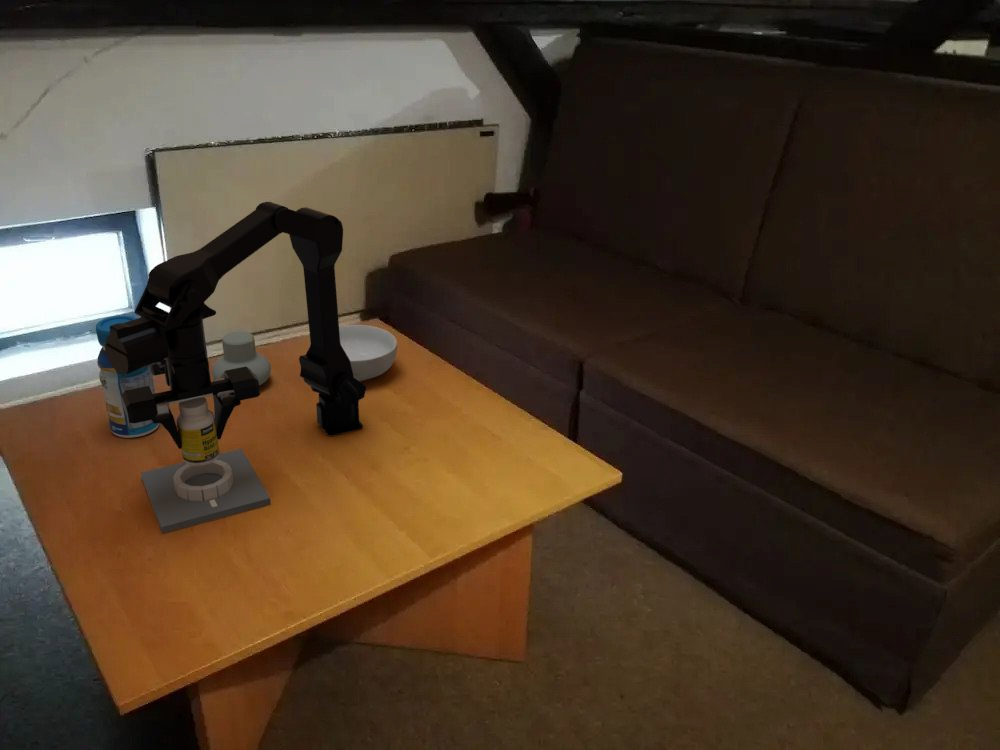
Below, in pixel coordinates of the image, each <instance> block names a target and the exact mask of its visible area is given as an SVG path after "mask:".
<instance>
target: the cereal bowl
mask: <svg viewBox="0 0 1000 750" xmlns="http://www.w3.org/2000/svg"><path fill="white" fill-rule="evenodd" d="M339 333H340V343H341V346H342V348H343V349H344V351H345V353H346V354H347V356H348V358H349V359H350V362H351V367H352V371H353V376H354V377H353V378H355V379H356V380H358V381H359V382H364V381H367V380H370V379H374V378H376V377H379V376H381V375H383V374H384V373H386V372H387V371H388V370H389V369H390V368H391V366H393V364H394V362H395V360H396V357H397V353H398V340H397V338H396V337H395V336H394V334H392V333H391V332H389V331H388V330H386V329H383V328H380V327H376V326H373V325H367V324H366V325H365V324H344V325H339ZM310 344H311V342H309V345H310Z"/></svg>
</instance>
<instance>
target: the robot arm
mask: <svg viewBox="0 0 1000 750" xmlns="http://www.w3.org/2000/svg"><path fill="white" fill-rule="evenodd" d="M282 233H284V234H287V235H289V240H290V242H291V246H292V249H293V251H294V253H295V255H296V256H297V258H298V259H299V262H300V263H301V264H302V268H303V269H302V270H303V277H304V289H305V300H306V307H307V308H306V309H307V319H308V320H307V321H308V330H309V338H310V340H309V341H310V342H311V344H310V342H309V347H308V350H307V351H306V353H305V354H303V355H299V358H298V361H299V364H300V365H299V366H300V374H299V376H300V377H301V378H302V379H303V381H304V382H305V384H306V385H308V386H309V387H310V388H311V390H312V392H314V393H317V394H318V402H316V404H315V406H316V407H315V408H316V422H317V424H318V425H319V427H320V428H321V429H322V430H323V431H324V432H325V433H326V435H327V436H328V437H333V436H337V435H342V434H346V433H350V432H354V431H357V430H361V429H363V428H364V425H363V424H362V422H361V421H360V412H359V411H360V405H359V401H361V400H362V399H364V398H365V394H366V391H367V385H365V384H364V383H362V381H358V380H356V379H355V378H353V377H354V376H353V371H352V367H351V362H350V359H349V358H348V356H347V354H346V353H345V351H344V349H343V348H342V346H341V343H340V333H339V326H340V320H339V311H338V310H339V308H338V296H337V295H338V294H337V284H336V272H335V271H336V270H335V269H336V268H335V266H336V263H337V261H338V259H339V257H340V256H341V253H342V251H343V243H344V242H343V241H344V227H343V222H342V220H340V219H339V218H337V216H335V215H332V214H330V213H329V214H328V213H325V212H322V211H318V210H316V209H312V208H310V207H301V208H298V209H297V210H293V209H290V208H288V207H286V206H285V205H281V204H279V203H275V202H272V201H264V202H263V201H262V202H260V203H259V204H258V205H257V206H256V208H255V210H253V211H252V212H250V213H248V214H247V215H246V216H245V217H243V218H242V219H240V220H239V221H238V222H236V223H235V224H234V225H232V226H231V227H228V229H226V230H224V231H223V232H222V233H220V234H218V236H216V237H215V238H213V239H212V240H211V241H209V242H208V243H207V244H205V245H203V246H202V247H201V248H198V249H197V250H195V251H193V252H188V253H184V254H180V255H175V256H174V257H172V258H169V259H167V260H165V261H163V262H161V263H158V264H157V265H155V266H154V267H153V268H152V269H151V270H150V271H149V273H148V279H147V283H146V287H145V288H144V291H143V292H142V294H141V296H140V299H139V301H138V303H137V305H136V308H135V309H134V314H136V315H137V316H138V318H137V319H135V320H131V321H128V322H125V323H118V324H114V325H111V326H110V327H109V329H110V335H108V336H107V338H106V345H105V351H106V355H107V357H108V360H109V361H110V363H111V365H112V367H113V368H114V369H115V370H116V371H117V372H118V373H119V374H121V375H125V374H128V373H131V372H133V371H136V370H139V369H142V368H145V367H147V366H150V368H151V372H152V374H153V377H154V376H155V377H156V376H161V375H164V378H165V384H166V386H167V387H169V389H170V390H166V391H160V392H155V394H152V392H151V389H150V387H149V386H145V387H140V388H135V389H130V390H125V391H124V392H123V394H122V395H121V398H122V403H123V408H124V410H125V413H126V415H127V418H128V421H129V423H139V422H144V421H148V420H151V421H152V423H155V424H156V423H160V425H162V426H163V428H164V429H165V430H166V431H167V433H169V435H170V437H171V439H172V440H173V441H174V443H175V445H176V446H177V448H178V449H179V450H181V448H182V447H181V440H180V436H179V433H178V428H177V422H176V420H175V417H174V414H173V413H172V411H171V408H170V405H172V404H176V403H178V404H179V402H182V401H187V400H192V399H197V398H201V397H204V398H206V397H211V396H212V398H213V405H214V406H213V407H214V408H213V409H214V410H213V411H214V413H213V415H214V418H215V425H216V432H217V438H218V441H219V440H221V439H222V436H223V433H224V431H225V428H226V425H227V423H228V421H229V418H230V417H231V414H232V412H233V411H234V409H235V407H237V406H240V405H241V403H242V402H241V401H244V400H249V399H255V398H259V396H261V385H259V382H258V379H257V378H256V376H255V375H254V374H253V372H252V371H251V369H249V368H248V367H241V368H236V369H231V370H226V371H224V378H220V379H216V380H214V381H212V379H211V371H210V362H209V357H208V351H207V341H206V335H205V327H204V319H207V318H211V317H214V316H215V315H216V314H217V310H215V309H213V308H211V307H209V306H208V305H207V304H206V303H205V302H206V301H207V300H208V299H209V298H210V297H211V296H212V295H213V294H214V293H215V290H216V289H217V286H218V283H219V281H220V280H221V279H222V278H223V277H224V276H225V275H226V274H227V273H229V272H231V270H232V269H234V268H236V267H237V266H238V265H240V264H241V263H242V262H244V261H245V260H247V259H248V258H249V257H251V256H252V255H253V254H254V253H255V252H258V251H259V250H260V249H262V247H264V246H266V245H267V244H268V243H270V242H271V241H272V240H273V239H275V238H276V237H278V236H279V235H281V234H282ZM159 303H160V304H163V305H165V306H166V307H168V308H170V310H169V312H168V311H167V310H164V309H162V308H160V307H157V306H158V304H159Z"/></svg>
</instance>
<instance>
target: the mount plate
mask: <svg viewBox="0 0 1000 750" xmlns="http://www.w3.org/2000/svg"><path fill="white" fill-rule="evenodd" d="M140 475H141V479H142V482H143V486H144V488H145V491H146V494H147V497H148V499H149V502H150V504H151V507H152V510H153V512H154V516H155V518H156V521H157V523H158V525H159V528H160V532H161V534H162V535H163V534H164V535H165V534H167V533H170V532H174V531H178V530H181V529H185V528H189V527H193V526H197V525H200V524H204V523H208V522H211V521H214V520H219V519H222V518H227V517H230V516H233V515H237V514H241V513H244V512H248V511H252V510H256V509H259V508H264V507H266V506H270V505H272V501H271V496H270V495H269V493H268V492H267V490H266V488H265V486H264V485H263V483H262V481H261V479H260V478H259V476H258V474H257V472H256V471H255V469H254V467H253V465H252V463H251V462H250V460H249V459H248V457H247V455H246V454H245V451H244V450H243V448H238V449H233V450H230V451H225V452H222V453H219V457H218V458H217V459H216V460H215V461H213V462H212V463H210V464H207V465H202V466H192V465H189V464H187V463H185V462H184V461H183V462H179V463H175V464H171V465H166V466H162V467H158V468H154V469H153V468H152V469H148V470H145V471H142V472H140Z"/></svg>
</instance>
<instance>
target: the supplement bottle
mask: <svg viewBox="0 0 1000 750" xmlns="http://www.w3.org/2000/svg"><path fill="white" fill-rule="evenodd" d="M178 409H179V414H178V416H177V418H176V426H177V430H178V433H179V436H180V440H181V447H182V448H181V449H180V450H181V455H182V460H183V462H185V463H187V464H189V465H192V466H202V465H207V464H210V463H212V462H213V461H215V460H216V459H217V458H218V457H219V454H220V446H219V440H218V438H217V432H216V425H215V415H214V413H213V412H212V411H211V410H210V409H209V406H208V401H207V398H206V397H201V398H197V399H192V400H187V401H182V402H178Z"/></svg>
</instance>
